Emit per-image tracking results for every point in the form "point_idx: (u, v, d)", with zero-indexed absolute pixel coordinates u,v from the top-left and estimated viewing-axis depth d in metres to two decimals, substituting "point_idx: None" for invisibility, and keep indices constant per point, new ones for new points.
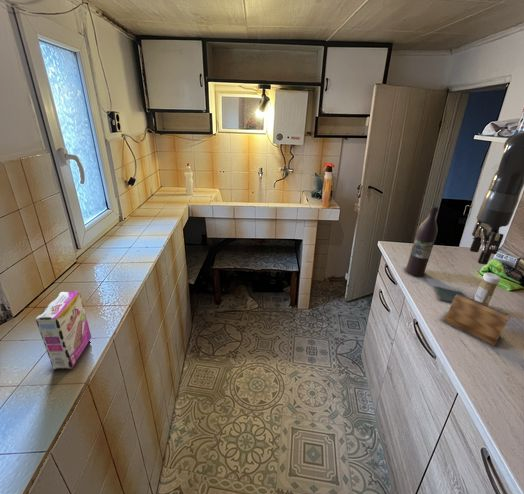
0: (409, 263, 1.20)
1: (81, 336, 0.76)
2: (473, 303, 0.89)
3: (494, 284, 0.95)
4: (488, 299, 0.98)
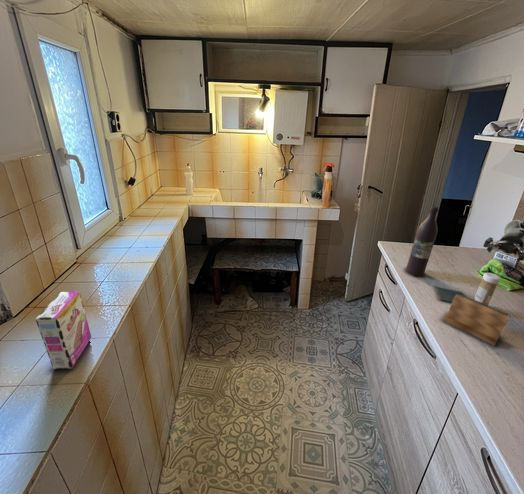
0: (409, 263, 1.20)
1: (81, 336, 0.76)
2: (473, 303, 0.89)
3: (494, 284, 0.95)
4: (488, 299, 0.98)
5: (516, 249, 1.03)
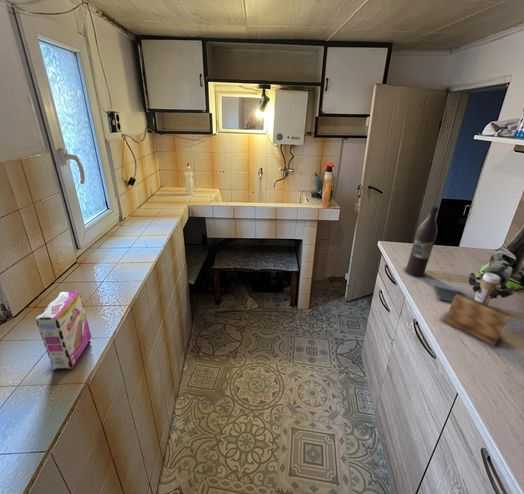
0: (409, 263, 1.20)
1: (81, 336, 0.76)
2: (473, 303, 0.89)
3: (494, 284, 0.95)
4: (488, 299, 0.98)
5: None
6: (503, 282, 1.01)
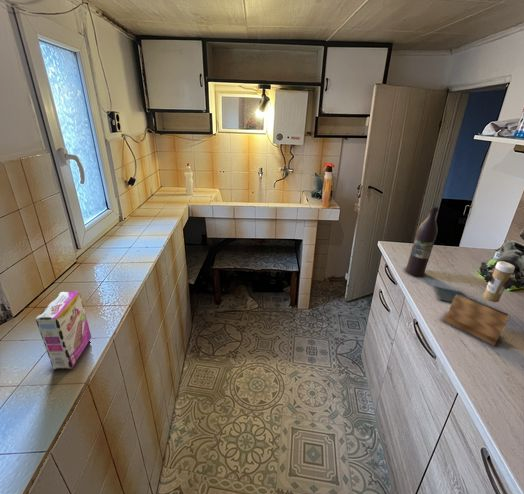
0: (409, 263, 1.20)
1: (81, 336, 0.76)
2: (473, 303, 0.89)
3: (508, 273, 0.88)
4: (501, 290, 0.91)
5: None
6: (517, 272, 0.94)
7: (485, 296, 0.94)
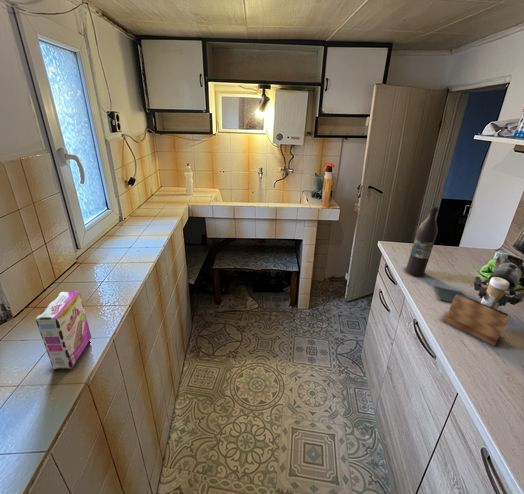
0: (409, 263, 1.20)
1: (81, 336, 0.76)
2: (473, 303, 0.89)
3: (502, 290, 0.85)
4: (495, 306, 0.88)
5: None
6: (512, 287, 0.92)
7: None
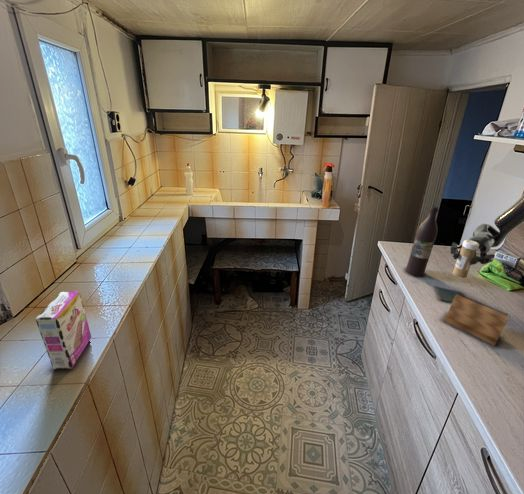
0: (409, 263, 1.20)
1: (81, 336, 0.76)
2: (473, 303, 0.89)
3: (473, 250, 0.96)
4: (468, 266, 0.99)
5: (475, 253, 1.01)
6: (483, 250, 1.03)
7: (454, 272, 1.03)
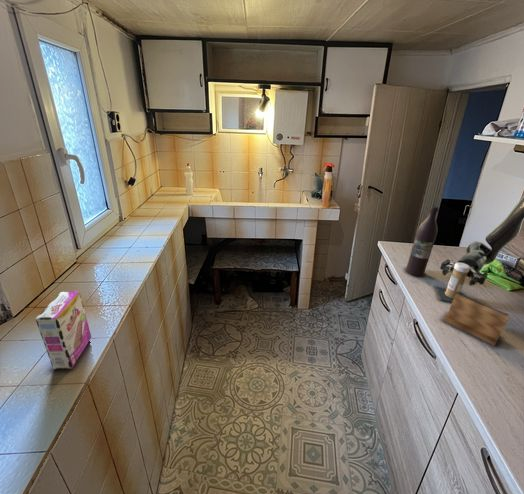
0: (409, 263, 1.20)
1: (81, 336, 0.76)
2: (473, 303, 0.89)
3: (464, 273, 1.00)
4: (459, 287, 1.03)
5: (470, 272, 1.05)
6: (476, 269, 1.06)
7: (446, 293, 1.06)
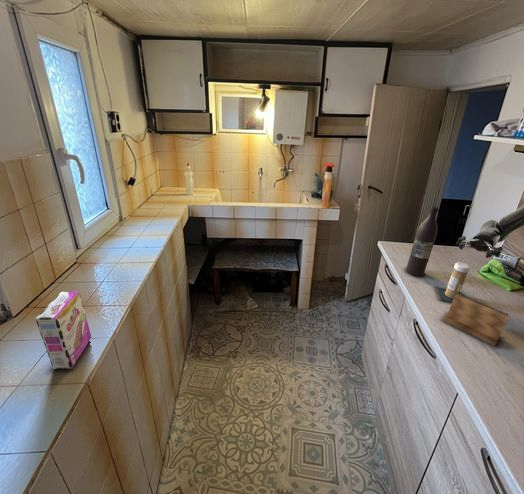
0: (409, 263, 1.20)
1: (81, 336, 0.76)
2: (473, 303, 0.89)
3: (464, 273, 1.00)
4: (459, 287, 1.03)
5: (486, 247, 1.09)
6: (491, 244, 1.11)
7: (446, 293, 1.06)
